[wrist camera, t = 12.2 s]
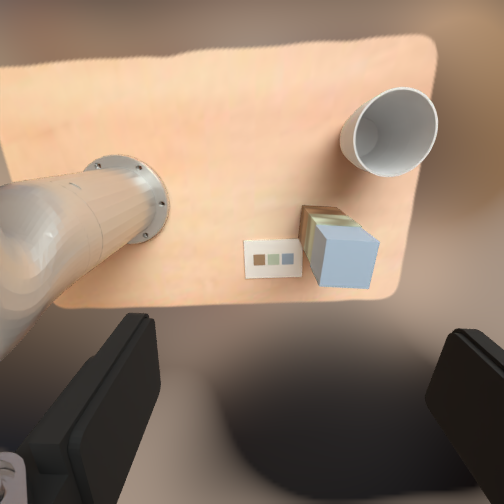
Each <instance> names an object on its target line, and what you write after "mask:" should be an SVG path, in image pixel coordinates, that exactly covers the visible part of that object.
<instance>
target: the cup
mask: <svg viewBox="0 0 504 504" xmlns="http://www.w3.org/2000/svg"><path fill="white" fill-rule="evenodd" d="M437 129H438V118H437V113H436V110H435V107H434V105H433V103H432V102H431V100H430V99H429V98H428V97H427V96H426V95H425V94H424V93H422V92H421V91H419V90H416V89H413V88H409V87H398V88H393V89H390V90H387V91H385V92H383V93H381V94H379V95H378V96H376V97H374V98H373V99H371V100H369V101H368V102H366V103H364V104H363V105H361V106H360V107H359V108H358V109H357V110H356V111H355V112H354V113H353V114H352V115H351V116H350V117H349V118H348V119H347V121H346V122H345V124H344V125H343V128H342V130H341V134H340V147H341V150H342V152H343V154H344V156H345V157H346V158H347V159H348V160H349V161H350V162H351V163H352V164H354V165H355V166H356V167H358V168H360V169H362V170H364V171H367V172H369V173H372V174H374V175H377V176H382V177H394V176H399V175H402V174H404V173H407V172H409V171H410V170H412V169H414V168H415V167H416V166H417V165H419V164H420V163H421V162H422V161H423V160H424V158H425V157H426V156H427V154H428V153H429V152H430V150H431V148H432V146H433V144H434V142H435V138H436V135H437Z"/></svg>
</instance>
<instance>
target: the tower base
mask: <svg viewBox="0 0 504 504" xmlns="http://www.w3.org/2000/svg"><path fill="white" fill-rule="evenodd" d="M316 225H328V226H347V227H362V226H360V225H359V224H358V223H357V222H355V221H354V220H353V219H351V218H350V217H349V216H347V215H346V214H345V213H343V212H342V211H341V210H339V209H338V208H337V207H321V206H303V205H302V212H301V220H300V228H299V236H298V239H299V241H300V243H301V245H302V247H303V249H304V252H305V254H306V256H307V258H308V260H309V262H311V255H312V248H313V241H314V234H315V227H316Z"/></svg>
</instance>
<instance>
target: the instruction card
mask: <svg viewBox="0 0 504 504" xmlns="http://www.w3.org/2000/svg"><path fill="white" fill-rule="evenodd" d="M244 257H245V276H246V279H249V278H282V277H302V259H303V247H302V245H301V243H300V241H299V239H272V240H244Z"/></svg>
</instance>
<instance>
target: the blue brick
mask: <svg viewBox="0 0 504 504" xmlns="http://www.w3.org/2000/svg"><path fill="white" fill-rule="evenodd" d="M379 243H380V242H379V241H378V240H377V239H375V238H374V237H373V236H371V235H370V234H369V233H367V232H366V231H365V230H364V229H362V228H361V227H347V226H328V225H316V227H315V234H314V241H313V248H312V255H311V262H310V267H311V269H312V271H313V274H314V276H315V278H316V280H317V282H318V285H319V286H322V287H342V288H361V289H369V286H370V282H371V277H372V273H373V269H374V265H375V260H376V256H377V252H378V248H379Z"/></svg>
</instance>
